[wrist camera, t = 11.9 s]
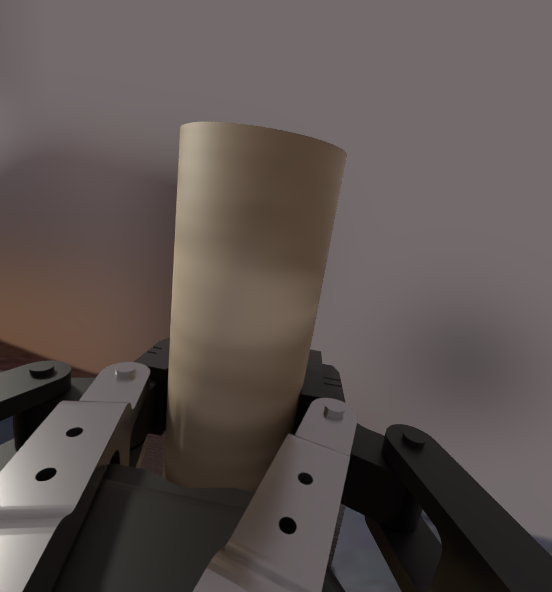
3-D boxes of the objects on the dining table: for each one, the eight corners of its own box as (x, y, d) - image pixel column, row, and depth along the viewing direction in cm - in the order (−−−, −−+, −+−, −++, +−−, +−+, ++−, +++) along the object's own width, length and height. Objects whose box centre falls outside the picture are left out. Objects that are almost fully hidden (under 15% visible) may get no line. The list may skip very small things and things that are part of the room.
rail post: (200, 735, 10) (280, 118, 5) (134, 628, 12) (144, 124, 7) (276, 619, 13) (372, 163, 8) (212, 550, 16) (257, 157, 10)
